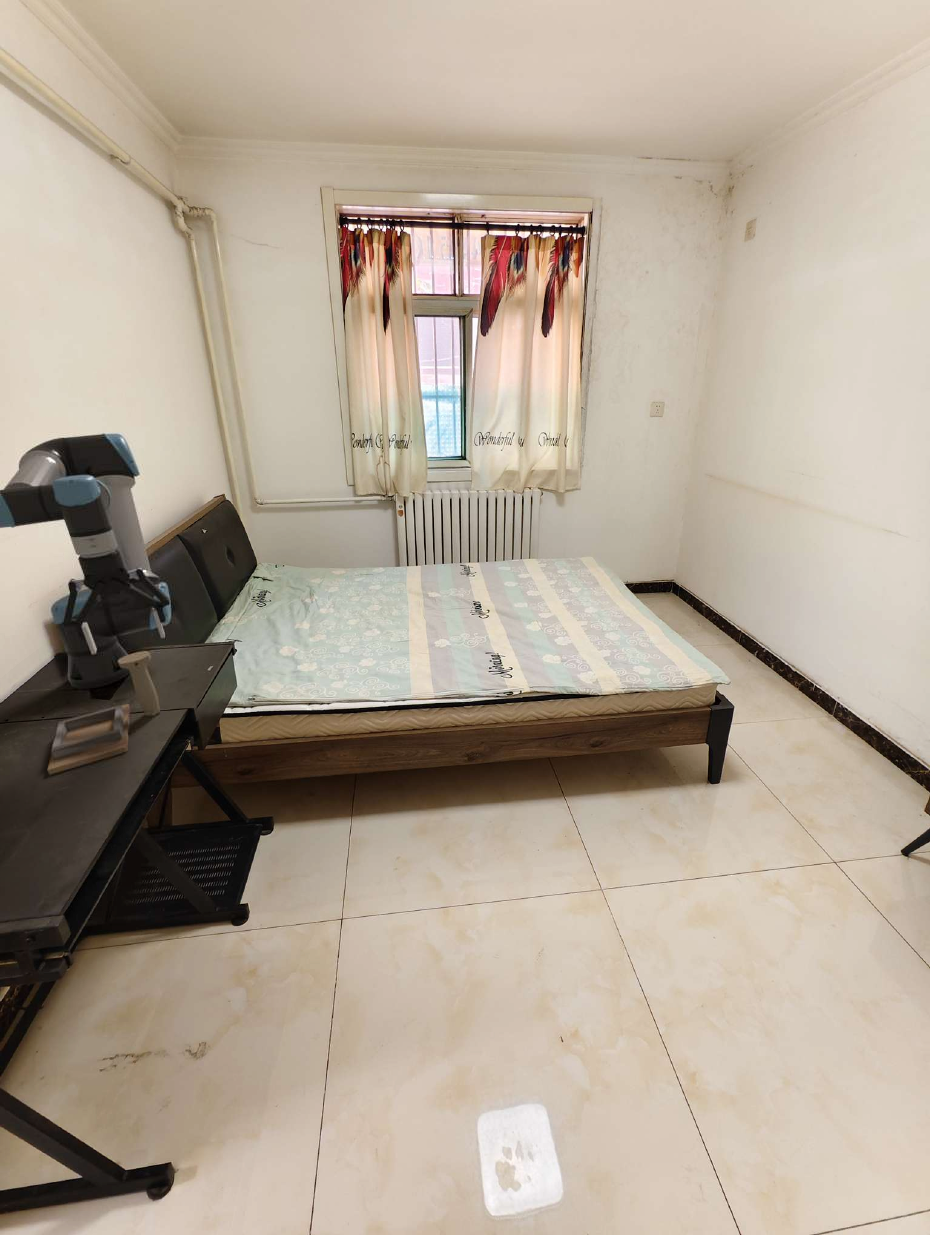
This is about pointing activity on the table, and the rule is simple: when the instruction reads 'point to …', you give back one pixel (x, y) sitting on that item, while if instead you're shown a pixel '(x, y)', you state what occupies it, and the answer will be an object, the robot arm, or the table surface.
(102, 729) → the collar board
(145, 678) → the handle
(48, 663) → the table surface
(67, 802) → the table surface
